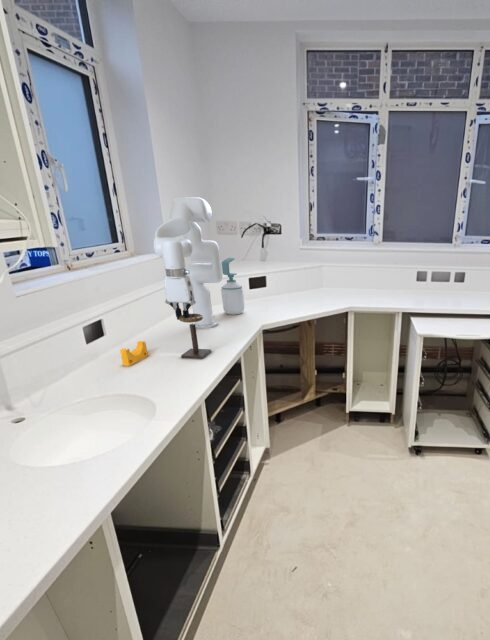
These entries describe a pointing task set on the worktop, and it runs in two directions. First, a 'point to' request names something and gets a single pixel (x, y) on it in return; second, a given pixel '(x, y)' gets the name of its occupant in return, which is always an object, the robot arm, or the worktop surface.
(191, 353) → the post
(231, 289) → the soap bottle
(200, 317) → the ring
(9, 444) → the worktop surface
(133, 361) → the pipe clamp
